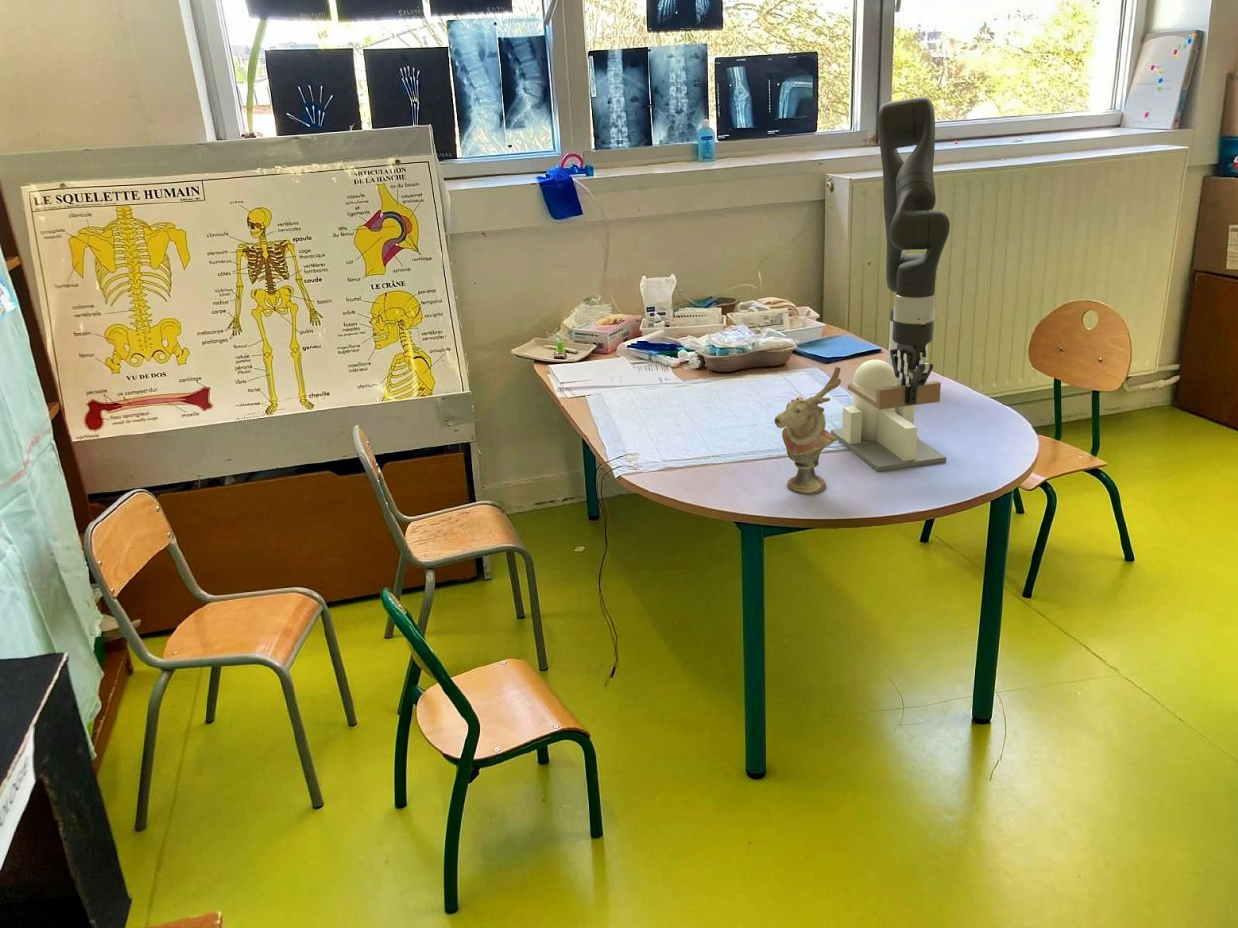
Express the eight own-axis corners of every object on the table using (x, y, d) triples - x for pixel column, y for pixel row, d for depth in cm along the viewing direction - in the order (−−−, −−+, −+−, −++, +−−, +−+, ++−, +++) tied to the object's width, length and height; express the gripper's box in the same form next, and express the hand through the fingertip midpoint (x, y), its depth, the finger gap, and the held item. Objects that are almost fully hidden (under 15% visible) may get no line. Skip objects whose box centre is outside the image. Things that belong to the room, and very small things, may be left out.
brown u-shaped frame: (847, 388, 196) (848, 370, 195) (904, 381, 198) (905, 363, 197) (879, 409, 183) (880, 390, 181) (939, 401, 185) (940, 382, 184)
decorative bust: (763, 495, 175) (780, 365, 168) (778, 477, 187) (795, 355, 179) (820, 507, 171) (840, 374, 164) (832, 488, 183) (852, 364, 175)
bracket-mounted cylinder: (830, 434, 206) (833, 358, 199) (893, 425, 208) (897, 350, 202) (877, 471, 185) (881, 388, 179) (945, 461, 188) (952, 379, 181)
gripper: (879, 311, 184) (874, 395, 190) (913, 327, 171) (907, 415, 178) (914, 308, 185) (908, 390, 191) (950, 323, 172) (943, 411, 179)
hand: (908, 402), depth 184 cm, fingers closed on brown u-shaped frame, 1 cm apart
